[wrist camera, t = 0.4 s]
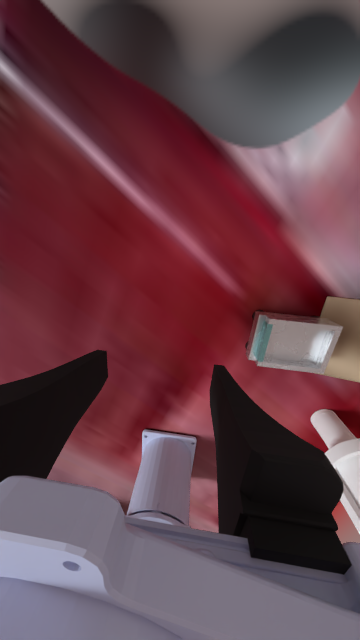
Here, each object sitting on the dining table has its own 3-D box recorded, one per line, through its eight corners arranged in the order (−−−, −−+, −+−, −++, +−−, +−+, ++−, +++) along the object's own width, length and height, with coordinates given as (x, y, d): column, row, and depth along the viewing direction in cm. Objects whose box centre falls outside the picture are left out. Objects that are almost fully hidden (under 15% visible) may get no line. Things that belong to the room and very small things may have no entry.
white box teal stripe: (304, 355, 21) (323, 373, 18) (243, 348, 22) (250, 365, 19) (319, 314, 20) (343, 326, 16) (252, 307, 20) (262, 318, 17)
